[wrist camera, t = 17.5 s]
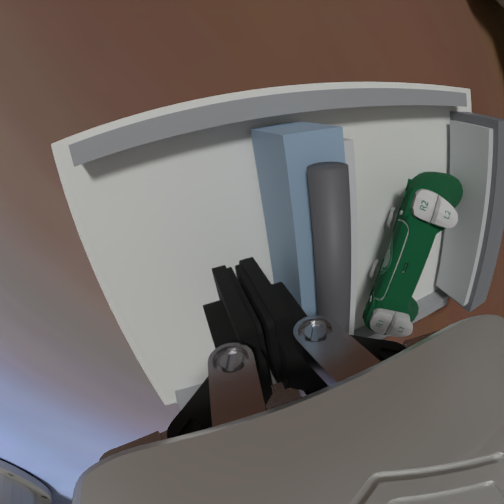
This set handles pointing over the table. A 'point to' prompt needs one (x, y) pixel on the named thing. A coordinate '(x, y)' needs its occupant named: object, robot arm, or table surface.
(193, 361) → the vise base
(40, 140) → the table surface
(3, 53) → the table surface
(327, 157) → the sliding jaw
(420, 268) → the gaming controller
